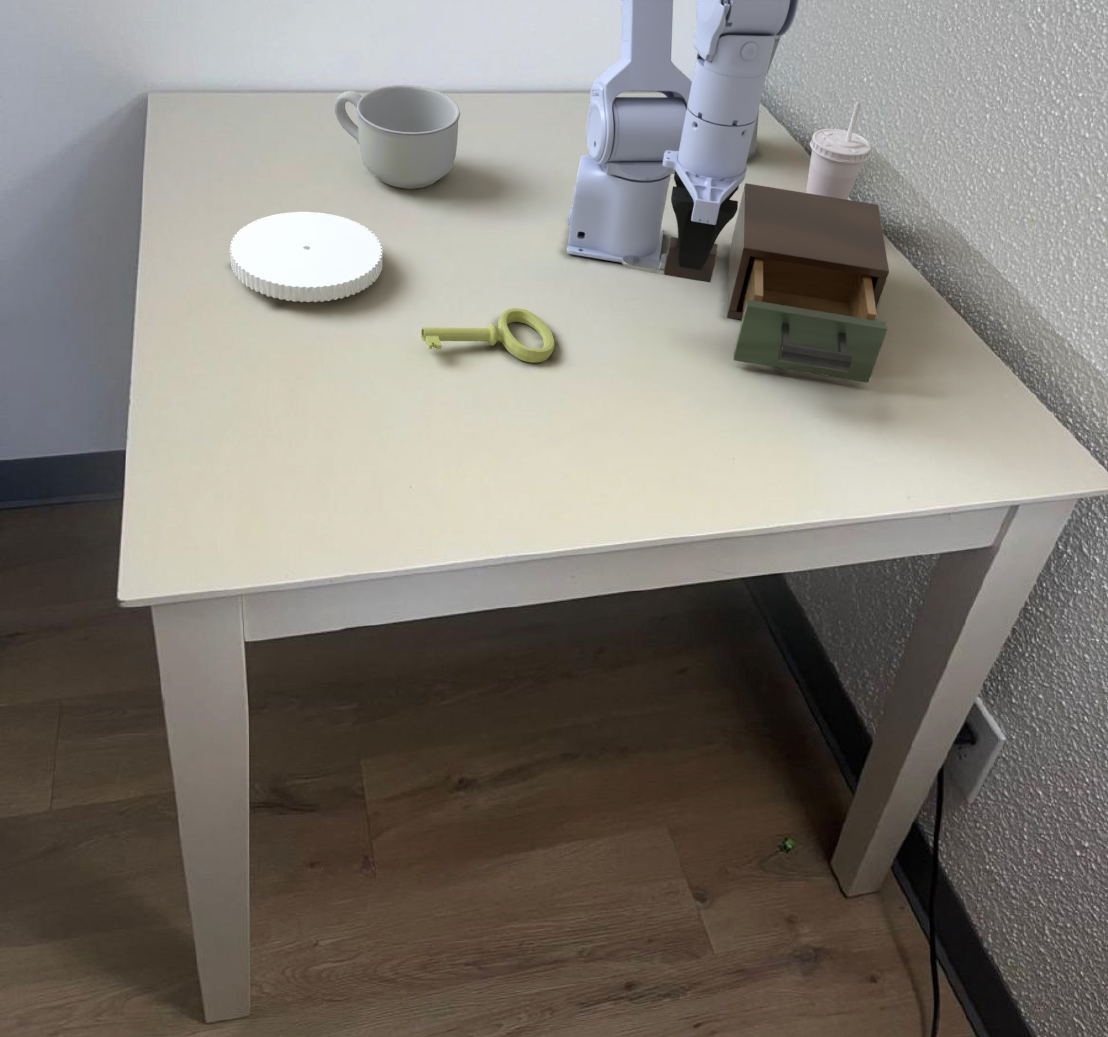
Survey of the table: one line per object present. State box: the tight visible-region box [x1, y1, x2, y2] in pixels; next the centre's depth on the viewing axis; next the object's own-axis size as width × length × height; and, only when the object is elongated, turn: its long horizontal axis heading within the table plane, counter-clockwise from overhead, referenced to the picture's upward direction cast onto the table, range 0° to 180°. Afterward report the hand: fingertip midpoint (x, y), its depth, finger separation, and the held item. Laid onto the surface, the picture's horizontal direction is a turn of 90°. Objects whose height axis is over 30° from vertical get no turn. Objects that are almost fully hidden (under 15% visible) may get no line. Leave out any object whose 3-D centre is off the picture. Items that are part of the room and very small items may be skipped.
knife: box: [621, 236, 718, 284], centre depth 104 cm, size 8×2×3 cm, turn 82°
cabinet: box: [726, 182, 890, 321], centre depth 116 cm, size 14×14×8 cm
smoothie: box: [805, 100, 872, 200], centre depth 125 cm, size 6×6×14 cm
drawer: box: [732, 257, 888, 383], centre depth 107 cm, size 18×12×6 cm
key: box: [420, 307, 556, 364], centre depth 104 cm, size 7×12×2 cm, turn 126°
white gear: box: [229, 210, 383, 303], centre depth 110 cm, size 14×14×2 cm
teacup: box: [333, 84, 461, 190], centre depth 126 cm, size 14×11×8 cm
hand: (690, 259), depth 104 cm, fingers closed on knife, 2 cm apart
